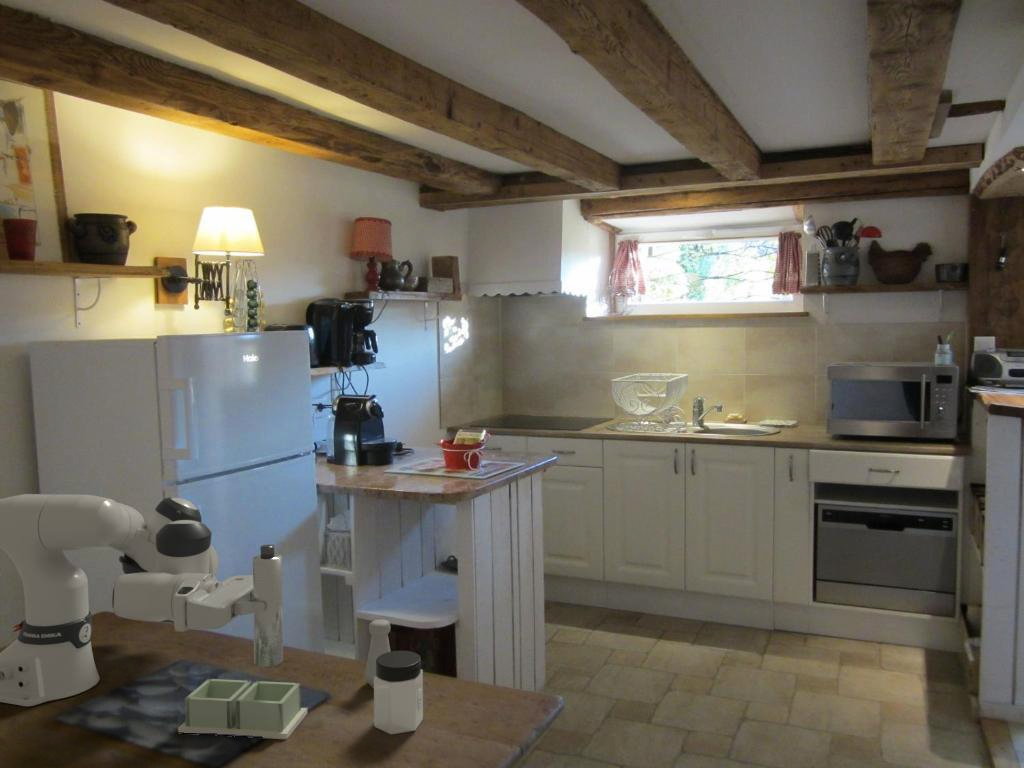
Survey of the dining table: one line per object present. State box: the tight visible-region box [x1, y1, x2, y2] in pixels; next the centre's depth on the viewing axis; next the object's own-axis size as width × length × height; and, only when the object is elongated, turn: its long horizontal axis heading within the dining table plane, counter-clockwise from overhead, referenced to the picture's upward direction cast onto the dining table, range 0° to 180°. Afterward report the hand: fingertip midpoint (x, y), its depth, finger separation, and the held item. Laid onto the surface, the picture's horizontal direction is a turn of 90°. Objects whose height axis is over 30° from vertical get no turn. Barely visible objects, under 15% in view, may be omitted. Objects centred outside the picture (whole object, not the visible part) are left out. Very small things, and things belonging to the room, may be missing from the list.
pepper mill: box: [252, 544, 284, 667], centre depth 145 cm, size 5×5×21 cm
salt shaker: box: [364, 618, 392, 689], centre depth 163 cm, size 6×6×13 cm
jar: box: [373, 650, 424, 735], centre depth 146 cm, size 9×8×12 cm
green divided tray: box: [177, 678, 308, 740], centre depth 146 cm, size 20×10×6 cm, turn 84°
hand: (272, 601), depth 145 cm, fingers closed on pepper mill, 5 cm apart
